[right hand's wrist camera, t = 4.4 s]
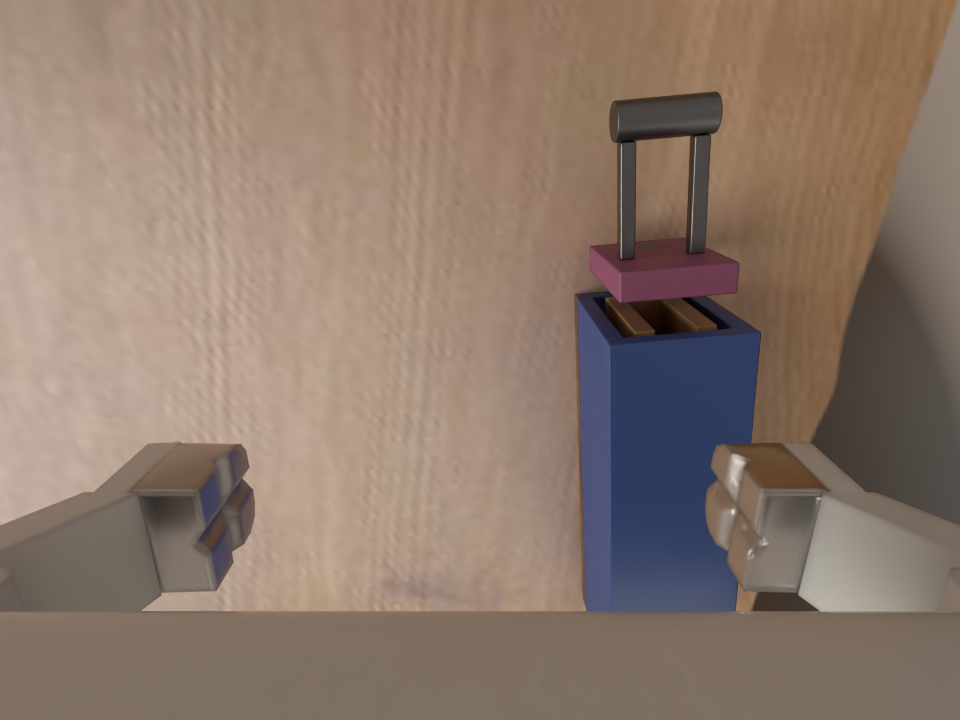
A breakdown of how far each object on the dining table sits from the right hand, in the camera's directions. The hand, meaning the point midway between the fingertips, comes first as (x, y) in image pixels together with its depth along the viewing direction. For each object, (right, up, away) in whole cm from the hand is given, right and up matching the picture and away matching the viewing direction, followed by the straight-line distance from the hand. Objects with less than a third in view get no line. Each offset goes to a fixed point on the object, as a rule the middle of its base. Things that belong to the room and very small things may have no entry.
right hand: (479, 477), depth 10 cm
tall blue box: (+8, -3, +22) cm, 23 cm away
